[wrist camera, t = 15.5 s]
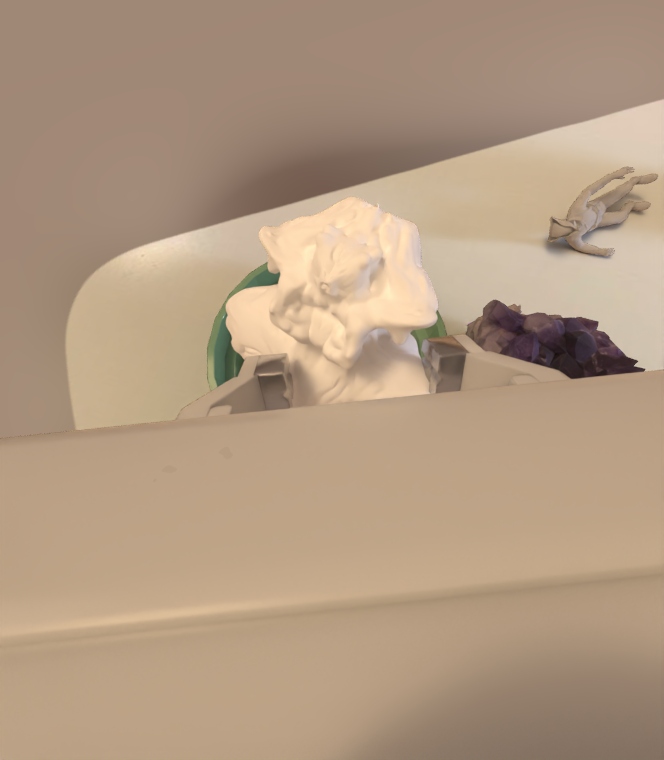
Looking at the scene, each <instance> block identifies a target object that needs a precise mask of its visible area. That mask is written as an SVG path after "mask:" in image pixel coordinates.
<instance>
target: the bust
mask: <svg viewBox="0 0 664 760" xmlns="http://www.w3.org/2000/svg"><path fill="white" fill-rule="evenodd" d="M259 239H260V242H261V243H262V245H263V247H264V248H265V250H266V252H267V254H268V264H267V267H268V270H269V272H270V273H274V274H276V273H278V272H280V277H279V281H278V284H276V285H270V286H260V287H251V288H246V289H243V290H241V291H240V292H238V293H236V294H235V295H233V296H232V297H231V298H230V299H229V300H228V301H227V303H226V312H227V315H228V316H227V318H226V326H227V329H228V330H229V332H230V334H231V336H232V341H231V344H232V347H233V349H234V350H235V351H236V352H237V353H239V354H240V355H241V356H242V358H243V359H244V360H245V358H246V357H247V356H255V355H269V354H281V353H287V354H288V358H289V363H290V367H289V373H290V374H292V380H293V391H294V395H293V399H292V404H293V407H292V408H297V407H307V406H317V405H326V404H336V403H346V402H355V401H365V400H375V399H384V398H394V397H404V396H413V395H423V394H430V392H429V381H428V379H427V377H426V376H425V372H424V367H423V364H422V361H421V360H422V359H421V357H420V355H419V353H418V345H417V342H416V340H415V338H414V337H413V336H412V335H411V334H410V333H411V332H412V331H413V330H416V329H424V328H428V327H431V326H433V325H434V324H435V323H436V321H437V314H436V311H437V309H438V299H437V296H436V294H435V291H434V289H433V286H432V284H431V281H430V279H429V277H428V275H427V273H426V272H425V270H424V269H422V264H421V259H422V255H421V243H420V236H419V231H418V228H417V226H416V224H414V223H413V222H411V221H408V220H405V219H402V218H399V217H397V216H395V215H393V214H391V213H387V212H384V211H383V210H382V209H381V208H380V206H379V205H378V204H376V205H375V206H372V205H370V204H369V203H368V202H366V201H365V200H363V199H361V198H358V197H349V198H346V199H343V200H341V201H340V202H338V203H336V204H335V205H333V206H331V207H330V208H328V209H326V210H324V211H322V212H320V213H318V214H316V215H309V216H301V217H299V218H296V219H295V220H291V221H287V222H284V223H283V224H282V225H281V226H280V227H271V226H265V227H263V228H261V230H260V231H259Z"/></svg>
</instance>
